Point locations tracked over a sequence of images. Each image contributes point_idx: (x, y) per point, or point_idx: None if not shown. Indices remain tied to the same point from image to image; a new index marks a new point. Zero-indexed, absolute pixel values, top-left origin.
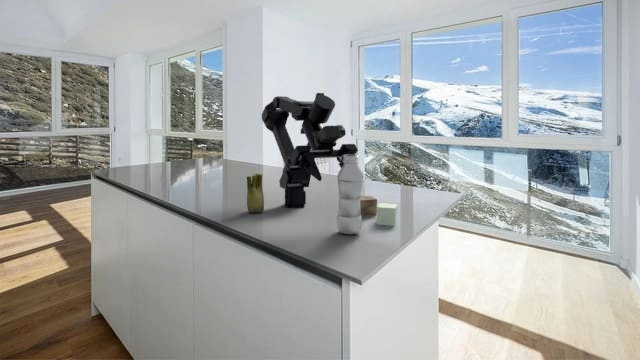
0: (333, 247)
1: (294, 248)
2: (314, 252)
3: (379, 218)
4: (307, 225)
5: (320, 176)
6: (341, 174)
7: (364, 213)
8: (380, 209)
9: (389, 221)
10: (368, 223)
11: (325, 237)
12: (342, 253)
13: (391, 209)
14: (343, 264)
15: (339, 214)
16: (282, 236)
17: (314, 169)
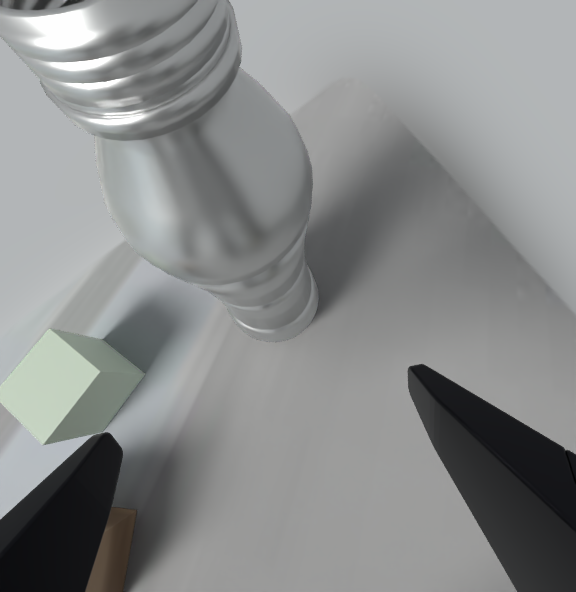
0: (360, 206)
1: (471, 219)
2: (419, 184)
3: (124, 367)
4: (399, 436)
5: (427, 376)
6: (295, 128)
7: (115, 513)
8: (96, 363)
9: (104, 347)
10: (165, 392)
11: (362, 284)
12: (349, 167)
13: (64, 337)
14: (366, 116)
15: (310, 276)
16: (509, 327)
17: (540, 443)
